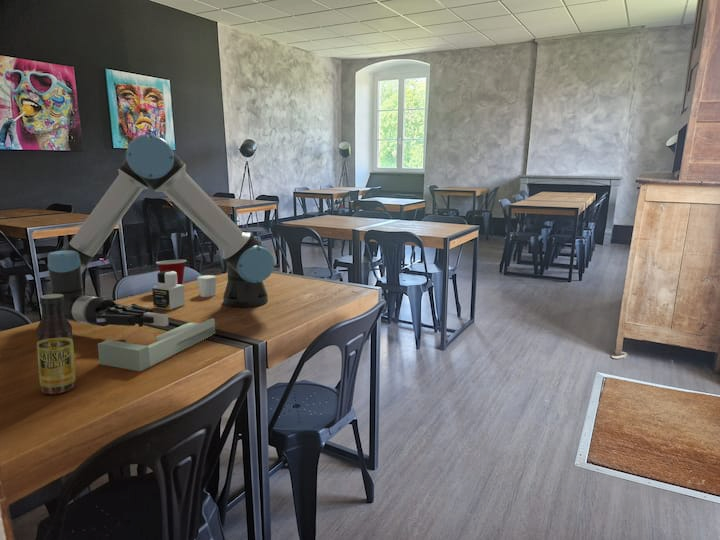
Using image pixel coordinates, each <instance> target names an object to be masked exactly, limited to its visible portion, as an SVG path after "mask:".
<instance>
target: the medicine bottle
mask: <svg viewBox="0 0 720 540" xmlns="http://www.w3.org/2000/svg"><path fill="white" fill-rule="evenodd" d="M177 283H178V282H177V273H176V272H175V271H161V272H160V271H159V272H157V285H155V286H152V290H151V292H152V301H153V308H154V309H160V310H161V309H162V310H167V311H171V310H173V309H177V308H180V307H182V306H185V304H186V301H185V300H186V299H185V285H184V284H182V285H181V284H177Z"/></svg>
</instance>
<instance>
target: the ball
mask: <svg viewBox="0 0 720 540" xmlns="http://www.w3.org/2000/svg"><path fill="white" fill-rule="evenodd" d="M156 336H157V335H155V334H154V333H153V332H152V331H150V330H147V329H137V330H136V331H133V332H131V334H129V335H128V337H127V339H126V341H125V342H126V343H132V344H138V345H145V346H148V345H150V344H152V343H154V342H157V338H156Z"/></svg>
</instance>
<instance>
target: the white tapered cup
mask: <svg viewBox="0 0 720 540" xmlns="http://www.w3.org/2000/svg"><path fill="white" fill-rule="evenodd" d="M217 278H218V277H217V275H213V274H205V275H204V274H203V275H199V276H197V277H196V280H197V285H198V292H199V297H202V298H209V297H210V296H211V297H215V296H216V295H217ZM214 295H215V296H214Z"/></svg>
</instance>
